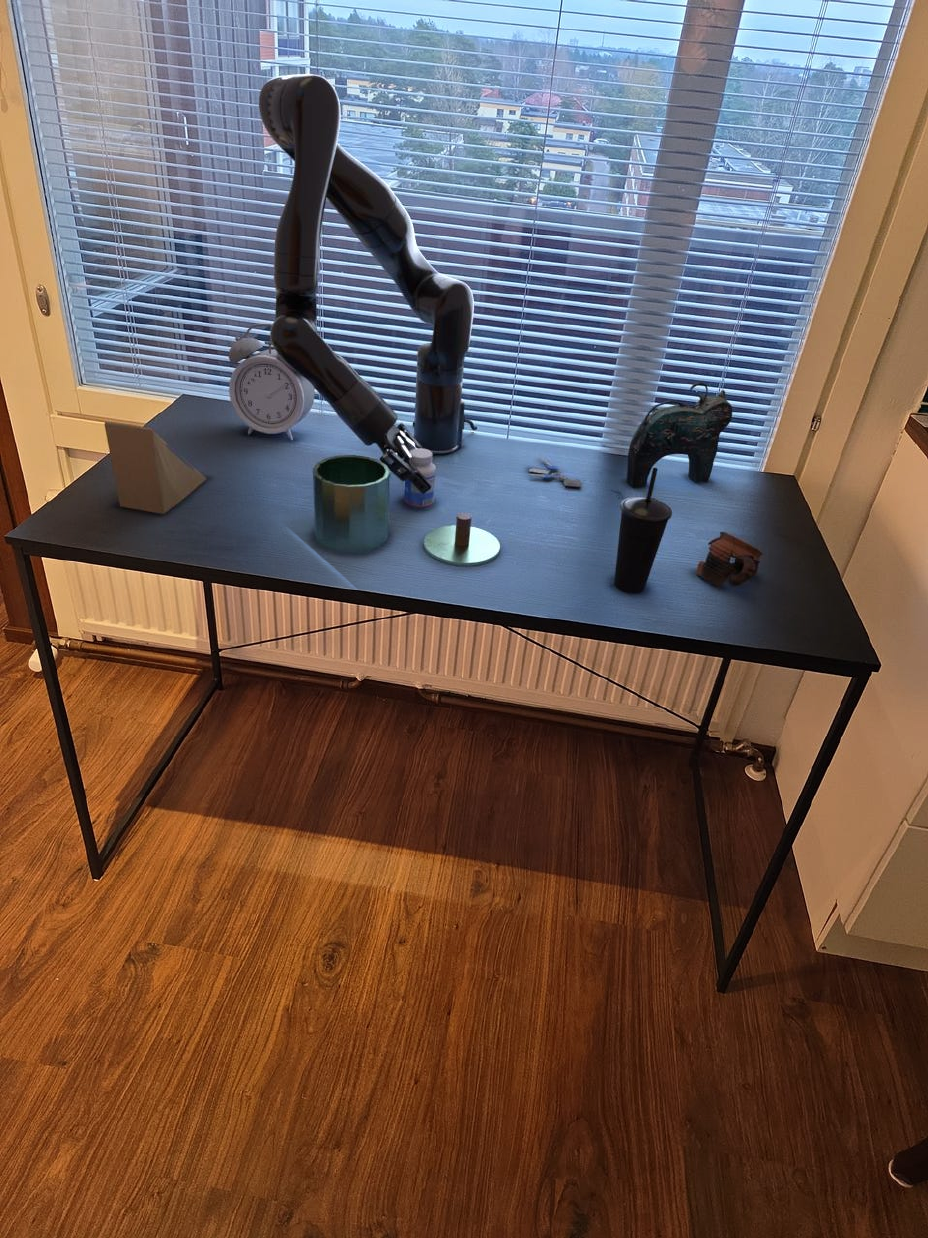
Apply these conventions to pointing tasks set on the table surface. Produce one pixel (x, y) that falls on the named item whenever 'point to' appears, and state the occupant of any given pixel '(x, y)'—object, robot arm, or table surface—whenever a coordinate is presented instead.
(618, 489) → the table surface
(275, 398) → the alarm clock
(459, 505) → the table surface
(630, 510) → the drinking cup
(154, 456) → the sandwich container
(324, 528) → the tin
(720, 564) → the brown wooden hut
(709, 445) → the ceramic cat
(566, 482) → the key chain
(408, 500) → the pill bottle
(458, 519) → the lid
